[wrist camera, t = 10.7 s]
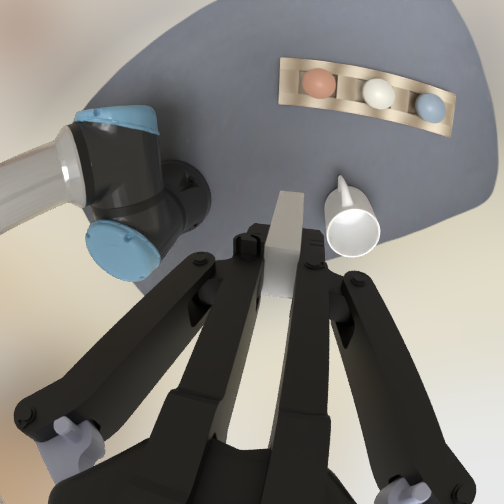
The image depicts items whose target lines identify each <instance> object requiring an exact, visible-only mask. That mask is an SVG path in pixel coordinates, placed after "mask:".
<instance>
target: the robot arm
mask: <svg viewBox="0 0 504 504" xmlns="http://www.w3.org/2000/svg"><path fill="white" fill-rule="evenodd" d="M74 121H75V123H73V124H70V125H66V126H64V127H63V128H62V129H61V131H60V132H59V134H58V136H57V137H56V139H55V140H54V141H53V142H50V143H47V144H45V145H42V146H39V147H37V148H34V149H32V150H29V151H27V152H24V153H22V154H19V155H17V156H15V157H13V158H10V159H8V160H6V161H4V162H2V163H0V235H1V234H3V233H5V232H7V231H9V230H10V229H12V228H14V227H16V226H18V225H20V224H22V223H24V222H26V221H28V220H30V219H32V218H34V217H36V216H38V215H40V214H43V213H44V212H47V211H49V210H51V209H53V208H56V207H58V206H60V205H62V204H65V203H67V202H68V203H72V204H74V205H76V206H78V207H80V208H84V207H86V206H89V205H91V207H92V211H93V215H94V219H95V221H94V222H92V223H91V224H90V226H89V228H88V230H87V233H86V237H85V239H86V246H87V248H88V251H89V253H90V255H91V257H92V258H93V259H94V261H95V262H96V263H97V264H98V265H99V266H100V267H101V268H102V269H103V270H105V271H106V272H107V273H108V274H110V275H112V276H113V277H115V278H118V279H120V280H123V281H128V282H137V281H141V280H143V279H145V278H147V277H148V276H149V275H150V274H151V272H152V271H153V270H154V269H156V268H157V267H158V266H159V265H160V262H161V261H162V259H163V258H164V257H165V255H166V254H167V252H168V251H169V250H170V248H171V247H172V246H173V244H174V243H175V242H176V240H177V239H178V237H179V236H180V235H182V234H184V233H186V232H188V231H191V230H193V229H194V228H196V227H197V226H198V225H200V223H201V222H202V221H203V220H204V218H205V217H206V216H207V214H208V212H209V209H210V205H211V195H210V190H209V187H208V184H207V182H206V180H205V179H204V177H203V176H202V175H201V174H200V172H199V171H197V170H196V169H195V168H194V167H192V166H191V165H189V164H187V163H184V162H181V161H165V162H161V153H160V142H159V136H160V132H159V131H158V126H157V118H156V113H155V111H154V109H153V108H152V107H150V106H147V105H125V106H112V107H103V108H96V109H88V110H82V111H79V112H77V113H76V115H75V118H74ZM303 207H304V193H298V192H290V191H281V190H280V194H279V197H278V201H277V204H276V208H275V211H274V215H273V218H272V222H271V225H267V224H258V223H254V224H253V225H252V226H250V227H249V229H248V231H247V233H242V234H239V235H237V236H235V237H234V238H233V257H232V258H230V259H227V260H217V261H215V257H214V256H213V255H212V254H210V253H208V252H196V253H193V254H191V255H189V256H188V257H187V258H186V259H184V260H183V261H182V262H181V263H180V264H179V265H178V266H177V267H176V268H175V269H173V270H172V271H171V272H170V273H169V274H168V275H167V276H166V277H165V278H164V279H163V280H161V281H160V282H159V283H158V284H157V285H156V286H155V287H154V288H153V289H152V290H151V291H150V292H149V293H148V294H146V295H145V296H144V297H143V298H142V299H141V300H140V301H139V302H138V303H137V304H136V305H135V306H134V307H133V308H132V309H131V310H130V311H129V312H128V313H127V314H126V315H125V316H123V318H121V319H120V320H119V321H118V322H117V323H116V324H115V325H114V326H113V327H112V328H111V329H110V330H109V331H108V332H107V333H106V334H105V335H104V336H103V337H102V338H101V339H100V340H99V341H98V342H97V343H96V344H95V345H94V346H93V347H92V348H91V349H90V350H89V351H88V352H87V353H86V354H85V355H84V356H83V357H82V358H81V359H80V360H79V361H78V362H77V363H76V364H75V365H74V366H73V367H72V368H71V369H70V370H69V371H68V372H67V373H66V375H65V376H64V377H63V378H61V379H59V380H57V381H56V382H54V383H52V384H50V385H48V386H46V387H45V388H43V389H41V390H39V391H37V392H35V393H34V394H32V395H30V396H28V397H26V398H24V399H23V400H21V401H20V402H19V403H18V405H17V406H16V408H15V411H14V422H15V424H16V426H17V428H18V429H20V430H21V431H22V432H23V433H24V434H26V435H27V436H29V437H30V438H32V439H33V440H34V441H35V442H36V444H37V446H38V448H39V451H40V453H41V455H42V458H43V460H44V462H45V464H46V466H47V469H48V471H49V473H50V474H51V477H52V479H53V481H54V482H55V484H56V485H55V487H54V488H53V489H52V491H51V493H50V496H49V500H48V504H357V503H356V502H355V501H354V499H353V498H352V497H351V495H350V494H349V493H348V491H347V490H346V489H345V487H344V486H343V484H342V483H341V482H340V480H339V479H338V478H337V476H336V475H335V474H334V473H333V472H332V471H331V470H330V469H329V468H327V467H328V457H329V446H330V433H331V419H330V416H329V415H328V414H327V403H328V382H329V381H328V380H329V319H330V320H331V325H332V328H333V332H334V335H335V338H336V341H337V345H338V348H339V351H340V354H341V357H342V361H343V364H344V367H345V371H346V374H347V378H348V381H349V385H350V388H351V392H352V395H353V399H354V403H355V406H356V410H357V413H358V418H359V421H360V425H361V429H362V433H363V437H364V441H365V445H366V449H367V453H368V458H369V462H370V466H371V469H372V472H373V476H374V478H375V481H376V483H377V485H378V488H379V489H380V492H379V493H378V495H377V496H376V499H375V501H374V504H472V502H473V501H474V498H475V495H476V484H475V482H474V480H473V478H472V477H471V476H470V475H469V473H468V472H467V470H465V468H464V466H463V465H462V464H461V462H460V461H459V460H458V459H457V457H456V456H455V455H454V453H453V452H452V451H451V449H450V448H449V447H448V446H447V444H446V443H445V440H444V437H443V434H442V432H441V429H440V426H439V423H438V421H437V418H436V415H435V412H434V410H433V407H432V405H431V402H430V400H429V397H428V395H427V392H426V390H425V388H424V385H423V383H422V380H421V378H420V376H419V373H418V371H417V369H416V367H415V364H414V362H413V360H412V358H411V355H410V353H409V351H408V349H407V347H406V345H405V343H404V340H403V338H402V336H401V334H400V332H399V330H398V328H397V326H396V324H395V322H394V320H393V318H392V316H391V314H390V312H389V311H388V309H387V307H386V305H385V303H384V301H383V299H382V297H381V296H380V294H379V292H378V290H377V288H376V286H375V284H374V283H373V281H372V279H371V278H370V277H369V276H368V275H366V274H365V273H363V272H360V271H349V272H347V273H346V274H345V275H344V276H341V275H338V274H336V273H333V272H332V271H330V270H329V269H328V266H327V263H326V262H325V249H324V235H323V234H322V233H321V232H320V230H313V229H305V228H302V222H303ZM261 291H262V295H268V296H276V297H283V298H290V299H292V304H291V310H290V316H289V317H290V319H289V327H288V333H287V341H286V348H285V354H284V361H283V367H282V374H281V380H280V386H279V393H278V398H277V404H276V409H275V415H274V420H273V426H272V431H271V436H270V441H269V445H268V449H256V450H239V449H236V448H234V447H232V446H230V445H228V444H226V438H227V431H228V427H229V423H230V419H231V415H232V412H233V408H234V404H235V400H236V396H237V393H238V389H239V384H240V381H241V377H242V373H243V369H244V366H245V362H246V357H247V353H248V350H249V345H250V342H251V338H252V334H253V329H254V326H255V322H256V318H257V313H258V309H259V305H260V298H261ZM202 326H203V328H202V331H201V333H200V335H199V337H198V340H197V342H196V345H195V347H194V350H193V352H192V355H191V357H190V359H189V362H188V364H187V366H186V369H185V371H184V374H183V376H182V379H181V381H180V384H179V386H178V387H177V388H176V389H172V390H171V391H170V392H169V393H168V395H167V397H166V399H165V401H164V404H163V406H162V408H161V411H160V414H159V416H158V418H157V421H156V423H155V426H154V428H153V431H152V433H151V435H150V438H147V439H145V440H143V441H142V442H140V443H138V444H136V445H134V446H132V447H130V448H129V449H127V450H125V451H123V452H121V453H119V454H117V455H115V456H113V457H112V458H109V459H108V460H106V461H104V462H102V463H99V464H98V465H95V466H94V464H95V462H96V461H97V460H98V459H101V458H102V457H103V456H104V455H105V449H104V447H105V445H104V441H106V440H107V439H109V438H110V437H111V436H112V435H113V434H115V433H116V432H117V431H118V430H119V429H120V428H121V427H122V426H123V425H124V423H125V422H126V421H127V420H128V419H129V417H130V416H131V415H132V414H133V412H134V411H135V410H136V409H137V408H138V406H139V405H140V404H141V403H142V401H143V400H144V399H145V398H146V396H147V395H148V394H149V393H150V391H151V390H152V389H153V388H154V386H155V385H156V384H157V383H158V381H159V380H160V379H161V377H162V376H163V375H164V374H165V372H166V371H167V370H168V369H169V367H170V366H171V365H172V364H173V363H174V361H175V360H176V358H177V357H178V356H179V355H180V354H181V352H182V351H183V350H184V349H185V347H186V346H187V345H188V344H189V342H190V341H191V340H192V339H193V337H194V336H195V335H196V334H197V332H198V331H199V330H200V328H201V327H202ZM0 504H6V503H5V502H4V500H3V498H2V497H1V495H0Z"/></svg>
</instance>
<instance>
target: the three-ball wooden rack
mask: <svg viewBox="0 0 504 504" xmlns="http://www.w3.org/2000/svg"><path fill="white" fill-rule="evenodd" d="M314 68H321V69H325V70H327V71H328V72H330V73H331V74H332V75H333V77H334V79H335V82H336V88H335V91H334V92H333V94H332V95H331V96H329V97H327V98H325V99H316V98H313V97H311V96H309V95H308V94H307V93H306V92H305V90H304V88H303V84H302V80H303V77H304V75H305V74H306V73H307V72H308V71H309V70H311V69H314ZM371 79H383V80H385V81H387V82H388V83H389V84H390V85H391V86H392V87H393V89H394V92H395V100H394V102H393V104H392V105H391V106H390V107H389V108H387V109H376V108H373V107H371V106H369V105H368V104H367V103H366V102H365V101H364V99H363V97H362V87H363V85H364V83H365V82H367V81H368V80H371ZM423 93H431V94H435V95H437V96H439V97H440V98H441V99H442V100H443V102H444V104H445V108H446V114H445V117H444V119H443V120H442V121H441V122H439V123H430V122H427V121H425V120H423V119H421V118H420V117H419V115H418V114H417V112H416V108H415V102H416V99H417V97H418V96H419V95H421V94H423ZM455 100H456V95H455V94H452V93H450V92H447V91H444V90H442V89H439V88H436V87H433V86H430V85H427V84H424V83H421V82H418V81H414V80H411V79H408V78H404V77H400V76H397V75H393V74H389V73H385V72H381V71H376V70H372V69H367V68H362V67H357V66H351V65H346V64H339V63H333V62H325V61H317V60H308V59H297V58H282V57H280V82H279V104H284V105H295V106H305V107H314V108H322V109H330V110H336V111H343V112H349V113H355V114H360V115H365V116H371V117H375V118H380V119H385V120H389V121H393V122H398V123H402V124H406V125H409V126H413V127H417V128H420V129H424V130H427V131H431V132H434V133H437V134H440V135H444V136H447V137H450V135H451V129H452V123H453V116H454V108H455Z"/></svg>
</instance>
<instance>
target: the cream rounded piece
mask: <svg viewBox="0 0 504 504" xmlns="http://www.w3.org/2000/svg"><path fill="white" fill-rule="evenodd" d="M362 97H363V99H364V101H365V102H366V103H367V104H368V105H369V106H371V107H373V108H376V109H387V108H389V107H390V106H391V105H392V104H393V102H394V100H395V92H394V89H393V87H392V86H391V85H390V84H389V83H388V82H387V81H385V80H383V79H371V80H368V81H367V82H365V83H364V85H363V87H362Z"/></svg>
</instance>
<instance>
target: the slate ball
mask: <svg viewBox="0 0 504 504" xmlns="http://www.w3.org/2000/svg"><path fill="white" fill-rule="evenodd" d="M415 108H416V112H417V114H418V115H419V117H420V118H421V119H423V120H425V121H427V122H430V123H439V122H441V121H442V120H443V119H444V117H445V114H446V108H445V104H444V102H443V100H442V99H441V98H440V97H439V96H437V95H435V94H431V93H423V94H421V95H419V96H418V97H417V99H416V102H415Z"/></svg>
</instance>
